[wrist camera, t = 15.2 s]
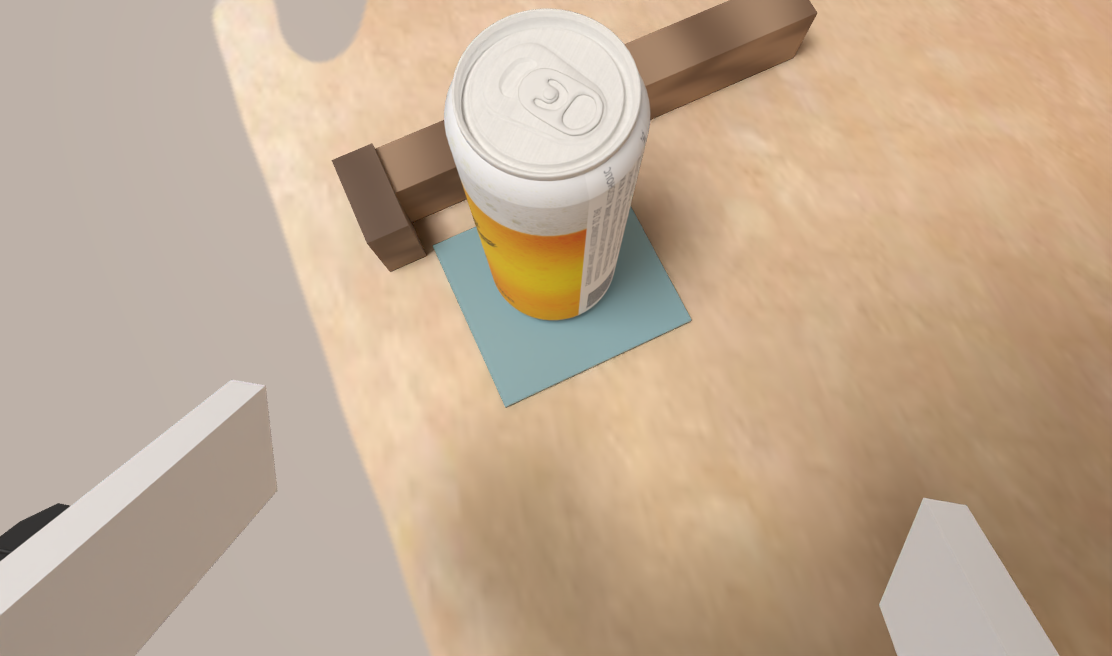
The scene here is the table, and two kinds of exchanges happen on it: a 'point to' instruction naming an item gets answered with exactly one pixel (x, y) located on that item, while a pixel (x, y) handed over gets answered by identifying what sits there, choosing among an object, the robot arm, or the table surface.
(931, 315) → the table surface
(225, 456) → the robot arm
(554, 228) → the orange soda can
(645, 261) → the pad
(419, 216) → the brown l-shaped hook tool
